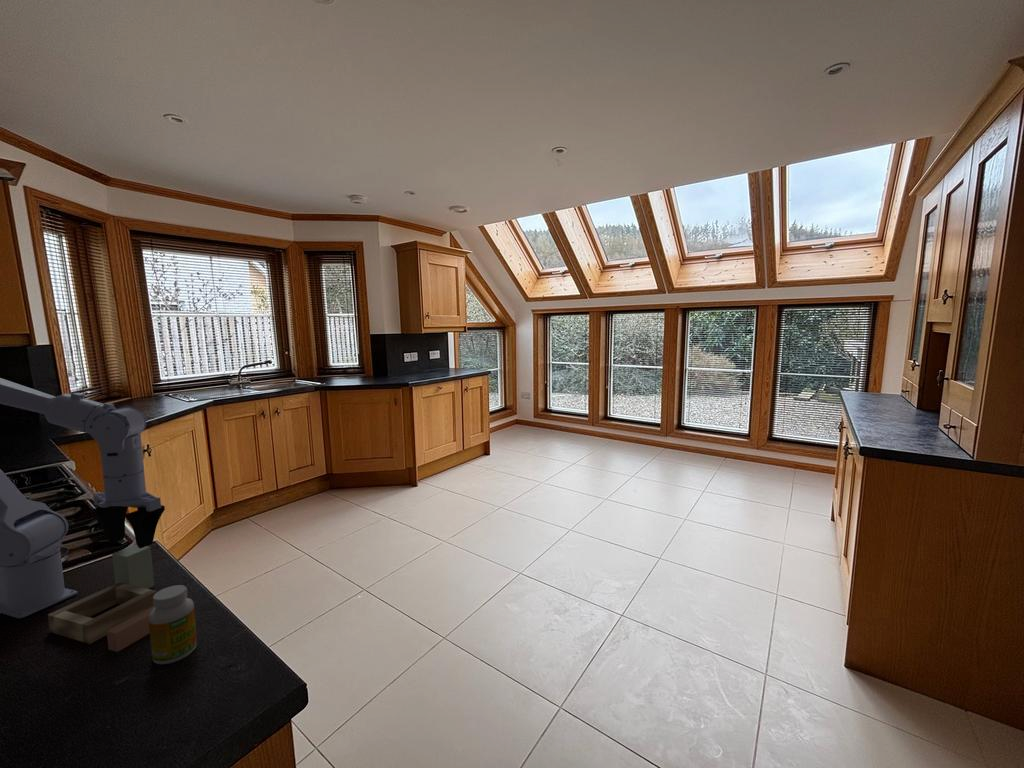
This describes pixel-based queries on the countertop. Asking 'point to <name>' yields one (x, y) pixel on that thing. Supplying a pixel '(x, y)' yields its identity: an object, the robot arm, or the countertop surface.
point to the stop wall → (129, 631)
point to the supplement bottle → (172, 625)
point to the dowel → (134, 566)
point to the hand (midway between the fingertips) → (131, 543)
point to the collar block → (77, 615)
